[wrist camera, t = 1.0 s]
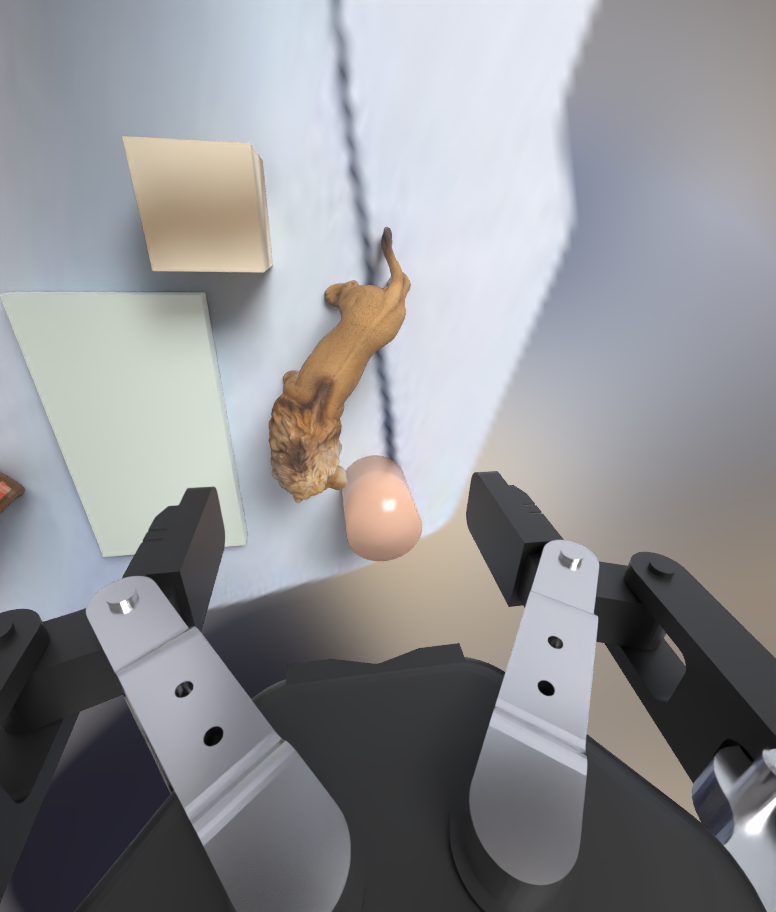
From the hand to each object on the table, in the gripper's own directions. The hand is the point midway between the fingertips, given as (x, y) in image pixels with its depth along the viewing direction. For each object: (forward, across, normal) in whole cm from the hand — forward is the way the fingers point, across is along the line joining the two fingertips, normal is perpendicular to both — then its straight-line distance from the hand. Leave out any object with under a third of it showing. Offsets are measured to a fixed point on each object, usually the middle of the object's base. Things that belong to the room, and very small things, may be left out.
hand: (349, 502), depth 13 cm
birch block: (+16, +6, -8) cm, 19 cm away
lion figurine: (+17, -1, 0) cm, 17 cm away
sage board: (+16, +12, +5) cm, 21 cm away
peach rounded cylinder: (+16, -3, +10) cm, 19 cm away
